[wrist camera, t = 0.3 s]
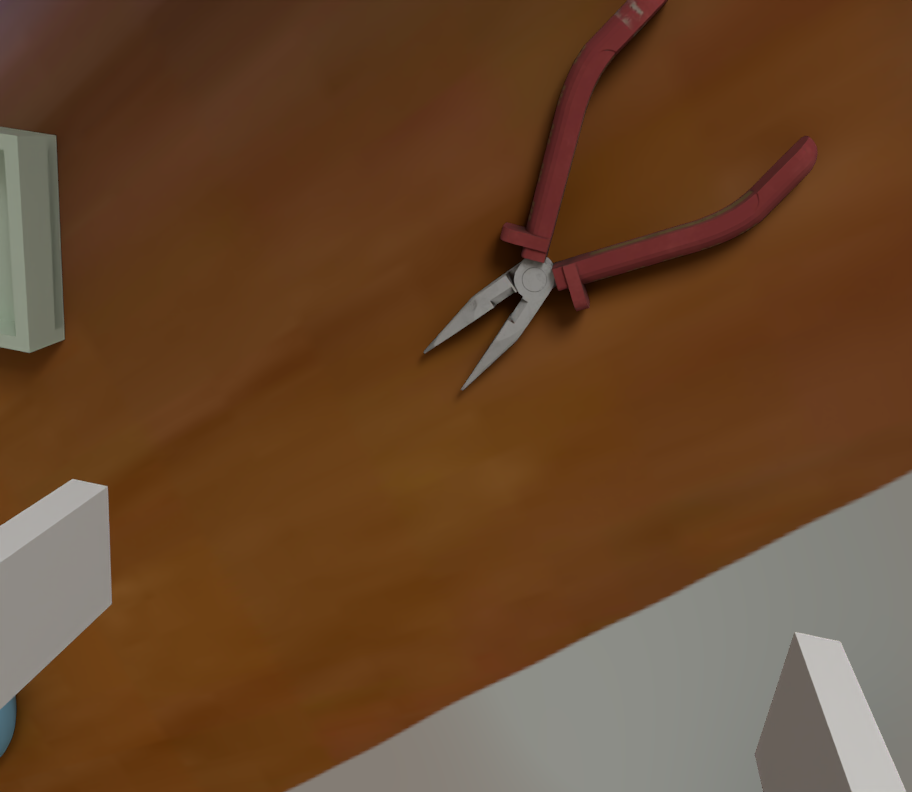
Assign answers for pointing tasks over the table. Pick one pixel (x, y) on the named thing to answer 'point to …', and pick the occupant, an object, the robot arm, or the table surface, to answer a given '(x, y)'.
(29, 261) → the tray
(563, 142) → the pliers
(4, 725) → the teapot
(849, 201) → the table surface
